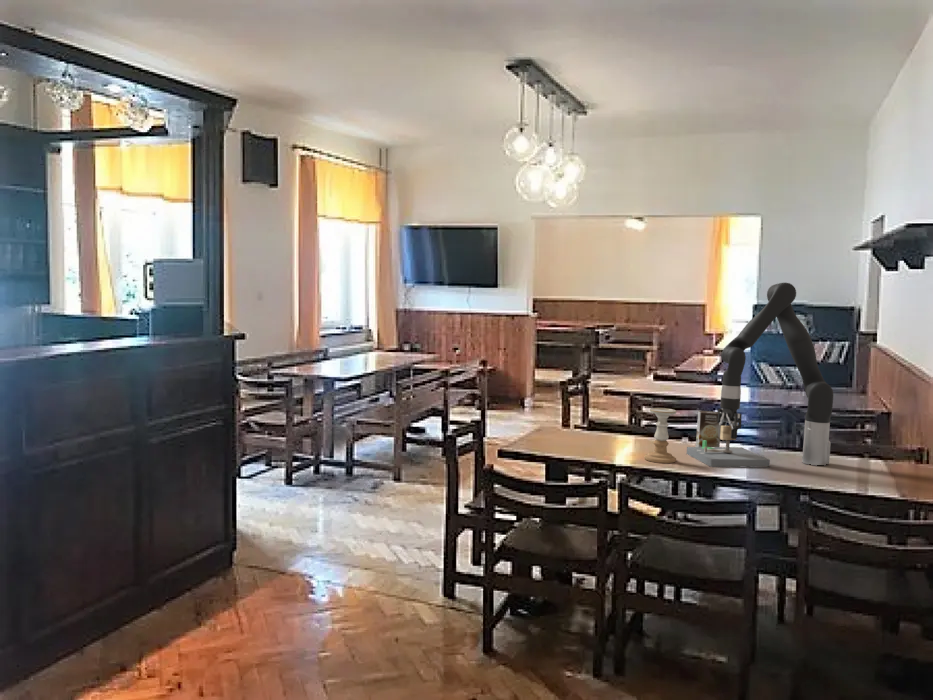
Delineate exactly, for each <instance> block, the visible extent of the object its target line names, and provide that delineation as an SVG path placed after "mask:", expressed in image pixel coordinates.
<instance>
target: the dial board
mask: <svg viewBox="0 0 933 700" xmlns="http://www.w3.org/2000/svg"><path fill="white" fill-rule="evenodd" d="M704 447H707V441H706V440H703V443H702V447H696V446H686V455H687V454H688V455H687V456H690V457H691V458H694V459H695V460H696V461H699V462H701V463H703V464H705V465H707V466H708V467H710V468H741V467H740V466H769V467H770V462H771V461H770V459H769V458H767V457H764V456H763V455H761V454H758V453H756V452H753V451H752V450H748V449H746V448H744V447H740V446H738V447H735V446H734V447H733V446H729V450H733V452H732V453H724V452H704ZM707 449H726V446H725V447H724V446H720V447H707Z"/></svg>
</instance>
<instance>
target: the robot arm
mask: <svg viewBox="0 0 933 700" xmlns="http://www.w3.org/2000/svg"><path fill="white" fill-rule="evenodd" d="M766 297H767V298H766V299H767V303H766V305H765V306H764V307H763V308H762V309H761V310H760V311H759V312H758V313H757V314H756V315H755V316H754V317H752V318H751V319H750V320H749V321H748V322H747V323H746V325H744V327H743V328H742V330H741V331H740V332H739V334H738V335H737V336H736V337H734V338H733V339H732V340H731V341H730V342H729V343H728V344H726V345H725V347H724V348H723V350H722V352H721V360H722V361H723V362H724V363H726V364H728V365H727V370H724V372H723V375H722V382H721V383H722V385H721V390H720V405H719V406H720V408H718V410H717V412H718V418H717V423H719V425H720V431H721V426H727V423H728V424H729V426H731V428H732V429H731V438H732V439H736V440H737V438H738V430H741V429H742V417H743V416H742V413H738V410H740V409H741V398H742V397H741V395H742V391H741V390H742V388H741V384H742V374H743V372H744V368H745V365H746V360H747V359H746V353H745V350H747V349H750V348H752V347H753V346H754V345H755V344H756V342H757V341H758V340H759V339H760V338H761V336H762V334H764V332H765V331H766V330H767V328H768V327H769V326H770V325H771V323H772V322H774V321H775V319H777V320H778V324H779V326H780V327H779V328H780V331H781V332H782V335H783V337H784V340H785V343H786V346H787V348H788V350H789V353H790V355H791V358H792V359H793V362H794V364H795V365H796V367H797V370H798V371H799V374H800V377H801V381H802V383H803V384H802V385H803V387H804V392H805V394H806V395H805V396H806V398H807V410H806V413H805V415H804V430H803V431H804V432H803V445H802V446H803V447H802V456H801V457H802V461H801V462H802V463H803V464H805V465H809V464H811V465H810V466H817V465H824V466H827V465H826V464H829V465H830V457H831V441H830V439H829V438H830V427H831V426H830V425H831V417H832V414H833V406H834V405H833V404H834V390H833V388H832V386H831V385H830V384H829V383H827V382H826V380H825V379H824V377H823V375H822V372H821V371H820V368H819V366H818V360H817V354H816V350H815V347H814V343H813V341H812V337H811V335H810V333H809V331H808V330H807V328H806V327H805V325H804V324H803V323H802V322H801V320H800V319H799V318H798V316H797V315H796V312H795V310H794V308H793V305H792V303H793V302H794V301H795V299H796V297H797V290H796V287H795V286H794V284H792V283H790V282H779V283H776V284H773V285H770V287H769V288H768V289H767V291H766ZM720 417H721V419H720Z"/></svg>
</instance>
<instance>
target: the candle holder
mask: <svg viewBox="0 0 933 700" xmlns="http://www.w3.org/2000/svg"><path fill="white" fill-rule="evenodd" d="M649 412H650V414H651V413H652V414H655V416H656V417H657V422H655V426H656V430H655V433H654V435H653V437H654V439H655V440H654V441H653V444H654V451H649V453H647V454H645V455H644V460H645V461H648V462H652V463H659V464H672V463H675V462H676V461H677V457H675V456H674V455H672V453H670V452H668V450H667V447H668V446H669V442H668V439H669V437H670V436H669V433H668V427H669V425H670V424H669V423H668V418H670V416H671V415H676V414H677V410H675V409H672V408H665V407H652V408H649Z"/></svg>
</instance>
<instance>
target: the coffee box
mask: <svg viewBox="0 0 933 700" xmlns="http://www.w3.org/2000/svg"><path fill="white" fill-rule="evenodd" d="M717 418H718V411H713V410H712V411H711V410H710V411H709V410H698V413H697V423H696V435H695V437H696V438H695V447H702V443H703V440H706V441H707V447H721V446H720V445H721V439H720V425H719V423H717ZM720 419H721V417H720Z"/></svg>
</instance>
